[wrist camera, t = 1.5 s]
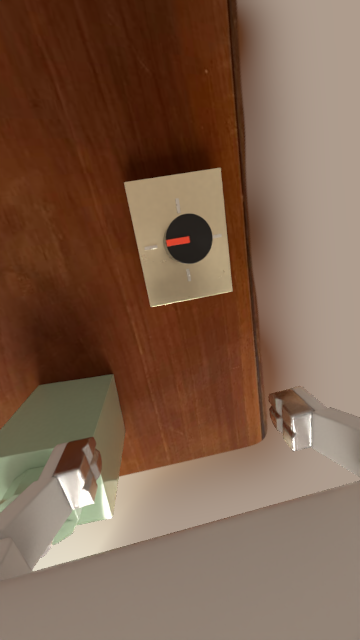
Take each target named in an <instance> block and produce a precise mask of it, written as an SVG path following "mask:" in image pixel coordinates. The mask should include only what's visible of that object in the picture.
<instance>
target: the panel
mask: <svg viewBox="0 0 360 640" xmlns="http://www.w3.org/2000/svg"><path fill="white" fill-rule="evenodd" d="M124 186H125V191H126V195H127V200H128V205H129V209H130V214H131V218H132V223H133V228H134V232H135V237H136V242H137V246H138V251H139V256H140V260H141V265H142V269H143V274H144V279H145V283H146V288H147V293H148V297H149V302H150V307H155V306H160V305H165V304H170V303H175V302H180V301H186V300H191V299H196V298H201V297H206V296H211V295H217V294H222V293H227V292H232V291H233V290H232V280H231V270H230V259H229V249H228V239H227V228H226V218H225V207H224V197H223V187H222V176H221V168H215V169H208V170H201V171H195V172H188V173H182V174H175V175H168V176H162V177H155V178H149V179H142V180H135V181H129V182H124ZM188 213H191V214H196V215H199V216H200V217H202V218H203V219H204V220H205V221H206V222H207V223H208V224H209V226H210V228H211V231H212V236H213V241H212V246H211V249H210V251H209V253H208V254H207V256H206V257H205V258H204V259H202V260H201V261H199V262H197V263H194V264H184V263H180V262H177V261H175V260H173V259H172V258H170V257H169V256H168V254H167V253H166V251H165V248H164V243H163V239H164V234H165V232H166V230H167V228H168V227H169V225H170V223H171V222H172V221H173V220H174V219H175V218H176V217H178V216H180V215H182V214H188Z"/></svg>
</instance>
